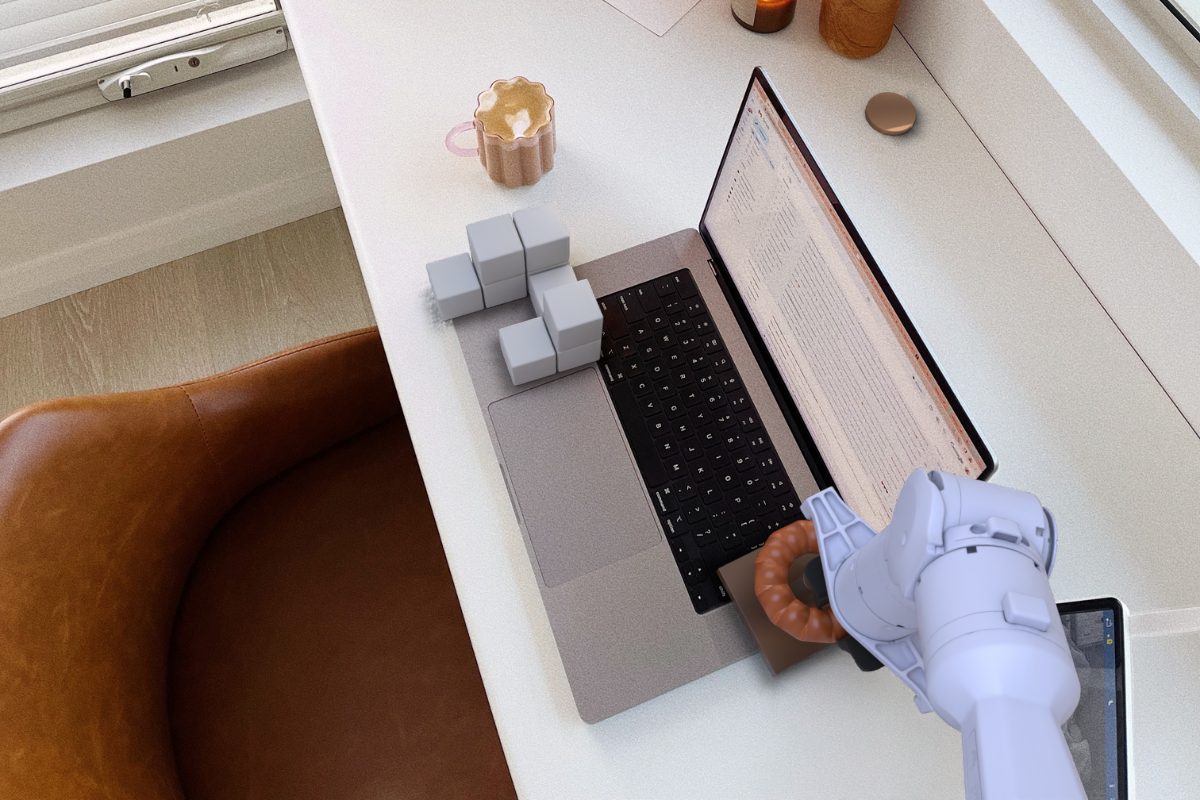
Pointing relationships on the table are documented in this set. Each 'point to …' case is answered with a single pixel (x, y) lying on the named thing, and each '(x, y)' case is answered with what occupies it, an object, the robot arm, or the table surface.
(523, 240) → the puzzle cube
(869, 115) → the coaster
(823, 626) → the ring
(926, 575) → the robot arm
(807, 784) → the table surface
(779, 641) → the peg stand
